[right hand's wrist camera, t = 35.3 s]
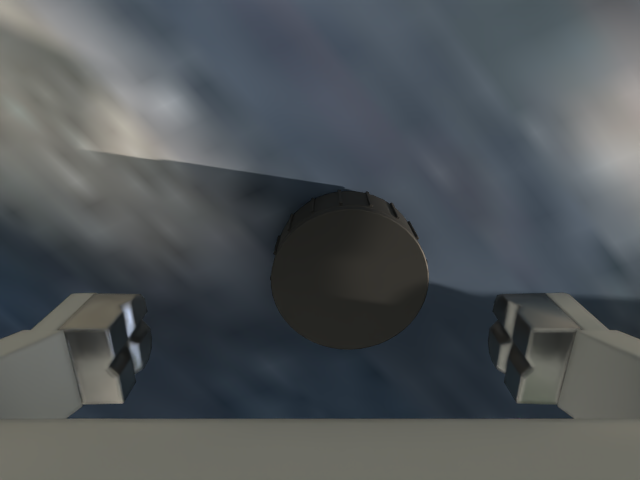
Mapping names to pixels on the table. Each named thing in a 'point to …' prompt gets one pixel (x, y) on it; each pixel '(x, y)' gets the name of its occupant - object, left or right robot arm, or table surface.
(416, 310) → the cap
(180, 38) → the table surface
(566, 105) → the table surface
